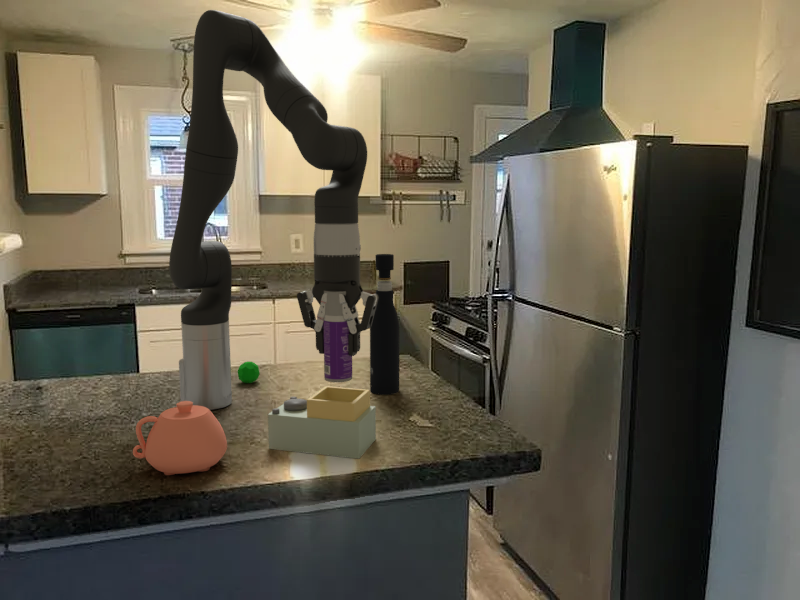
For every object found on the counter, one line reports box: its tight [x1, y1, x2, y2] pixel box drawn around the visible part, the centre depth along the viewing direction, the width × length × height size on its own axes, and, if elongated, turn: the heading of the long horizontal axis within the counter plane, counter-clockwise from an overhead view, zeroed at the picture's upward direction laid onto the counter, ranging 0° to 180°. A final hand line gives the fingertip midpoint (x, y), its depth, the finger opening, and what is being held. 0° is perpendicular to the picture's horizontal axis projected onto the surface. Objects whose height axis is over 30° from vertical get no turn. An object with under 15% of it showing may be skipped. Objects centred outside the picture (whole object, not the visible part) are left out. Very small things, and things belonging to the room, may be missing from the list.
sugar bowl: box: [132, 400, 228, 476], centre depth 101 cm, size 12×14×10 cm
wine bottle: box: [369, 253, 400, 396], centre depth 141 cm, size 6×6×30 cm
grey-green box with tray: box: [267, 385, 377, 459], centre depth 111 cm, size 16×9×9 cm, turn 75°
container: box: [323, 291, 353, 383], centre depth 108 cm, size 5×5×15 cm
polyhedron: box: [237, 361, 261, 384], centre depth 149 cm, size 5×5×5 cm
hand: (338, 353), depth 108 cm, fingers closed on container, 4 cm apart
